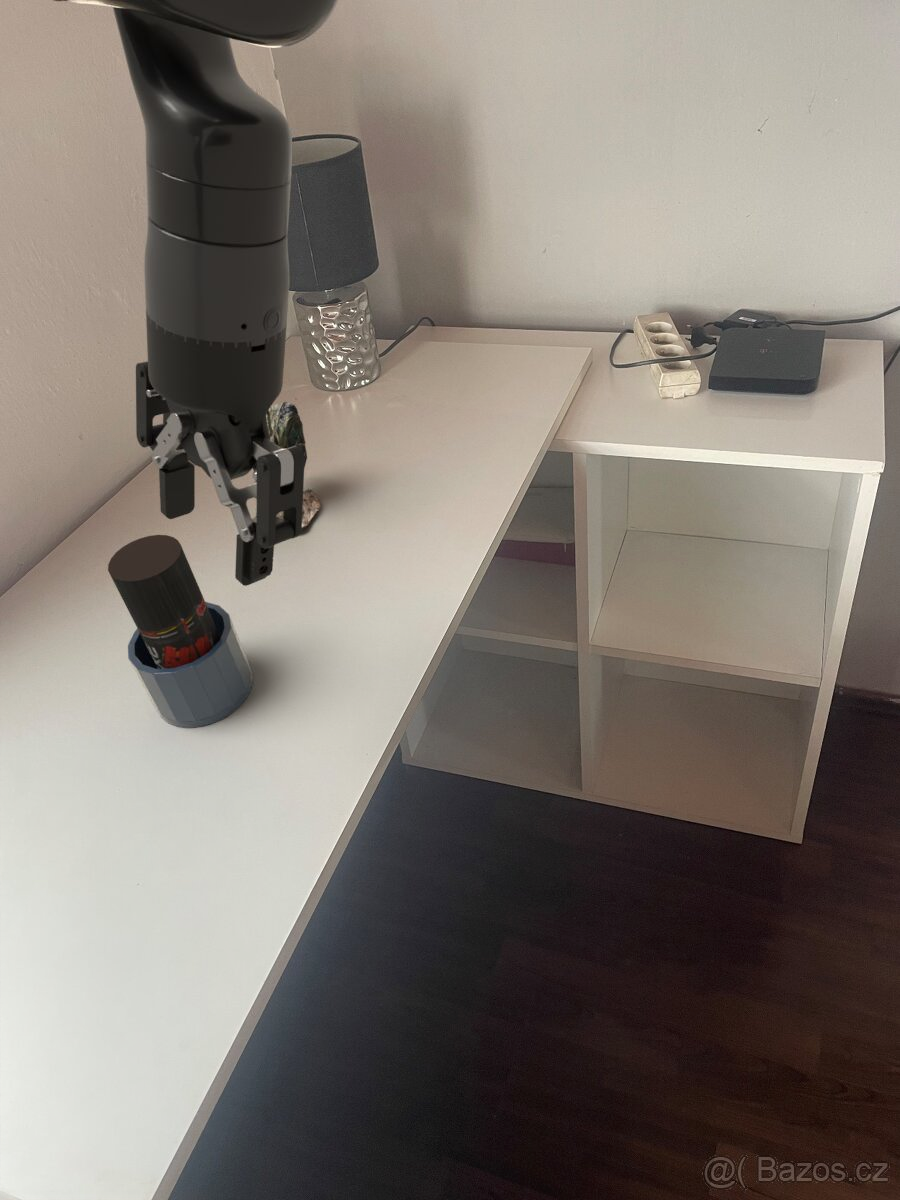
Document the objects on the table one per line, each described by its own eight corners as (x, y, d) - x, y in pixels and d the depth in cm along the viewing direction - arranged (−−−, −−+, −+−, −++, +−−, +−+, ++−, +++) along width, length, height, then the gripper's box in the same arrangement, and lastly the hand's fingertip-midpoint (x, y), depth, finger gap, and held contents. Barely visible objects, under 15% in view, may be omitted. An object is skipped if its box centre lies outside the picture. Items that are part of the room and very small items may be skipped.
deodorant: (159, 701, 78) (92, 575, 69) (196, 656, 82) (138, 530, 72) (213, 714, 76) (152, 586, 66) (248, 667, 80) (195, 539, 70)
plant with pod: (342, 483, 103) (301, 323, 90) (302, 541, 95) (250, 375, 82) (282, 479, 106) (233, 322, 93) (238, 535, 98) (178, 373, 85)
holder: (212, 739, 75) (185, 684, 71) (136, 712, 79) (106, 658, 74) (272, 668, 81) (250, 613, 76) (198, 646, 85) (174, 592, 80)
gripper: (86, 268, 48) (105, 509, 58) (237, 374, 42) (229, 625, 52) (202, 255, 53) (201, 480, 63) (354, 348, 47) (326, 583, 57)
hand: (214, 545), depth 58 cm, fingers open, 8 cm apart
